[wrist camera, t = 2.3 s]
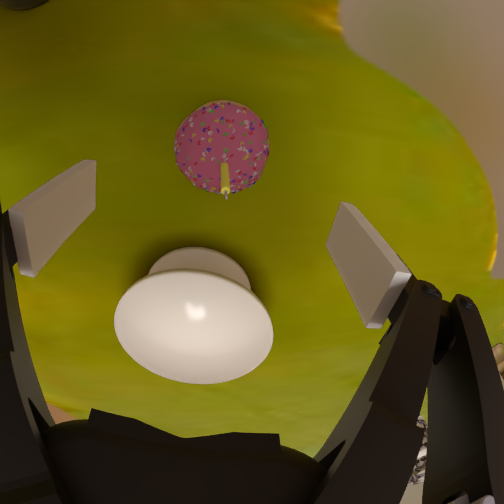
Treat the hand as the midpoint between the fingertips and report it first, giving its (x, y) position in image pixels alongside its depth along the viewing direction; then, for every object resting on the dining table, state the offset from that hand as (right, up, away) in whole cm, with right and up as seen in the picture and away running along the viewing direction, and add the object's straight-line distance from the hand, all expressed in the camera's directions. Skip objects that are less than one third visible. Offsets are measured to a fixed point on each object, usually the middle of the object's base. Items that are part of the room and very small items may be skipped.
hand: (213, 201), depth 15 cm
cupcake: (-1, +9, +14) cm, 17 cm away
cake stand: (-5, -8, +24) cm, 26 cm away
